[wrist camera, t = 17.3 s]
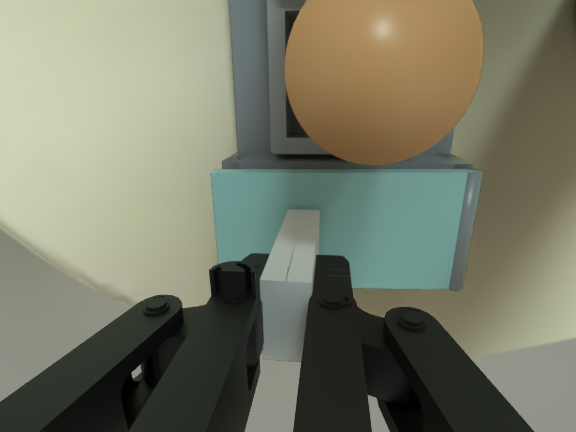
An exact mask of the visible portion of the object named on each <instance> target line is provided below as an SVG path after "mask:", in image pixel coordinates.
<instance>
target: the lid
mask: <svg viewBox="0 0 576 432" xmlns="http://www.w3.org/2000/svg"><path fill="white" fill-rule="evenodd" d="M482 176H483V171H481V170H477V169H215V170H214V171H212V172H211V183H212V195H213V207H214V219H215V230H216V242H217V254H218V264H220V263H223V262H228V261H242V260H243V259H244V258H245V257H247V256H248V255H250V254H251V253H264V254H270V253H271V250H272V248H273V245H274V243H275V240H276V238H277V235H278V233H279V230H280V228H281V225H282V223H283V221H284V218H285V216H286V213H287V211H288V209H304V210H320V222H319V255H340V256H344V257H345V258H346V259H347V260H348V261H349V264H350V273H351V283H352V288H381V289H449V290H454V291H458V290H461V289H462V288H463V283H464V277H465V272H466V266H467V260H468V255H469V249H470V244H471V238H472V232H473V227H474V221H475V215H476V210H477V204H478V199H479V193H480V187H481V182H482Z"/></svg>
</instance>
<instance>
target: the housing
mask: <svg viewBox="0 0 576 432" xmlns="http://www.w3.org/2000/svg"><path fill="white" fill-rule="evenodd" d="M306 1H307V0H229V4H230V22H231V39H232V57H233V74H234V91H235V109H236V126H237V144H238V152H237V153H236V154H234V155H232V156H231V157H229V158H227V159H225V160H224V161H222V169H472V165H473V164H471V163H469V162H467V161H465V160H463V159H460V158H458V157H456V156H454V155H452V154H450V150H451V143H452V136H453V129H454V128H453V129H452V130H451V131H450V132H449V133H448V134H447V135H446V136H445V137H444V138H442V139H441V140H440V141H439V142H438V143H437V144H435V145H434V146H432V147H431V148H429V149H428V150H426V151H424V152H422V153H421V154H419V155H417V156H415V157H412V158H409V159H407V160H404V161H400V162H396V163H393V164H385V165H364V164H357V163H353V162H349V161H346V160H343V159H341V158H338V157H336V156H334V155H332V154H331V153H329V152H327V151H325V150H324V149H323V148H322V147H320V146H319V145H318V144H316V143H315V142H314V141H313V140H312V139H311V138H310V137H309V136H308V134H307V133H306V132H305V130H304V129H303V128H302V126H301V125H300V123H299V121H298V120H297V118H296V116H295V114H294V112H293V109H292V107H291V104H290V101H289V98H288V94H287V89H286V82H285V56H286V49H287V44H288V40H289V36H290V33H291V30H292V27H293V25H294V22H295V20H296V18H297V16H298V14H299V12H300V10H301V8H302V7H303V5H304V4H305V2H306Z"/></svg>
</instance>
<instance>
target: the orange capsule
mask: <svg viewBox="0 0 576 432" xmlns="http://www.w3.org/2000/svg"><path fill="white" fill-rule="evenodd" d="M483 57H484V40H483V30H482V26H481V22H480V17H479V15H478V12H477V9H476V7H475V4H474V2H473V1H472V0H307V1H306V2H305V4H304V5H303V7H302V8H301V10H300V12H299V14H298V16H297V18H296V20H295V22H294V25H293V27H292V30H291V33H290V36H289V40H288V44H287V49H286V56H285V82H286V89H287V94H288V98H289V101H290V104H291V107H292V109H293V112H294V114H295V116H296V118H297V120H298V121H299V123H300V125H301V126H302V128H303V129H304V130H305V132H306V133H307V134H308V136H309V137H310V138H311V139H312V140H313V141H314V142H315V143H316V144H318V145H319V146H320V147H322V148H323V149H324V150H325V151H327V152H329V153H331V154H332V155H334V156H336V157H338V158H341V159H343V160H346V161H349V162H353V163H357V164H364V165H385V164H393V163H396V162H400V161H404V160H407V159H409V158H412V157H415V156H417V155H419V154H421V153H422V152H424V151H426V150H428V149H429V148H431V147H432V146H434V145H435V144H437V143H438V142H439V141H440V140H441V139H442V138H444V137H445V136H446V135H447V134H448V133H449V132H450V131H451V130H452V129H453V128H454V126H455V125H456V124H457V123H458V122H459V120H460V119H461V117H462V116H463V115H464V113H465V112H466V110H467V108H468V106H469V104H470V103H471V101H472V99H473V96H474V94H475V92H476V89H477V86H478V83H479V79H480V76H481V72H482V65H483Z"/></svg>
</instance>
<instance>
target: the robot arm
mask: <svg viewBox="0 0 576 432" xmlns="http://www.w3.org/2000/svg"><path fill="white" fill-rule="evenodd" d="M319 222H320V210H304V209H288V211H287V213H286V216H285V218H284V221H283V223H282V225H281V228H280V230H279V233H278V235H277V238H276V240H275V243H274V245H273V248H272V250H271V253H270V254H264V253H251V254H250V255H248V256H247V257H245V258H244V259H243V260H242V261H228V262H223V263H220V264H218V265H215V266H213V267H212V268H211V269H210V270H209V274H210V285H211V295H212V296H211V298H210V299H209V301H208V302H207V304H206V305H203V306H198V307H190V308H182V302H181V300H180V299H179V298H178V297H175V296H173V295H156V296H153V297H150V298H147V299H145V300H143V301H141V302H139V303H138V304H136V305H135V306H133V307H132V308H131V309H129V310H128V311H127V312H125V313H124V314H122V315H121V316H120V317H118V318H117V319H115V320H114V321H113V322H111V323H110V324H108V325H107V326H106V327H104V328H103V329H101V330H100V331H99V332H97V333H96V334H95V335H93V336H92V337H90V338H89V339H87V340H86V341H85V342H83V343H82V344H80V345H79V346H78V347H76V348H75V349H73V350H72V351H71V352H70V353H68V354H66V355H65V356H64V357H62V358H61V359H60V360H58V361H57V362H55V363H54V364H52V365H51V366H50V367H48V368H47V369H46V370H44V371H43V372H42V373H40V374H39V375H37V376H36V377H34V378H33V379H32V380H30V381H29V382H27V383H26V384H25V385H23V386H22V387H20V388H19V389H18V390H16V391H15V392H13V393H12V394H11V395H9V396H8V397H6V398H5V399H4V400H2V401H1V402H0V432H244V431H245V427H246V424H247V420H248V416H249V412H250V409H251V405H252V401H253V397H254V393H255V389H256V386H257V382H258V378H259V374H260V354H261V351H262V347H263V359H265V360H278V361H291V362H301V369H300V378H299V387H298V395H297V404H296V412H295V421H294V429H293V432H372V430H371V420H370V413H369V404H368V395H370V396H373V397H376V398H377V401H378V405H379V408H380V410H381V412H382V415H383V417H384V419H385V422H386V424H387V426H388V428H389V431H390V432H534V431H533V430H532V429H531V427H530V426H529V425H528V424H527V423H526V422H525V420H524V419H523V418H522V417H521V416H520V415H519V414H518V413H517V411H516V410H515V409H514V408H513V407H512V406H511V404H510V403H509V402H508V401H507V400H506V399H505V398H504V397H503V395H502V394H501V393H500V392H499V391H498V390H497V389H496V387H495V386H494V385H493V384H492V383H491V382H490V380H489V379H487V377H486V376H485V375H484V374H483V372H482V371H481V370H480V369H479V368H478V367H477V366H476V364H475V363H474V362H473V361H472V360H471V359H470V358H469V356H468V355H467V354H466V353H465V352H464V351H463V350H462V348H461V347H460V346H459V345H458V344H457V343H456V342H455V340H454V339H453V338H452V337H451V336H450V335H449V334H448V332H447V331H446V330H445V329H444V328H443V327H442V326H441V324H440V323H439V322H438V321H437V320H436V319H435V318H434V317H433V316H431V315H430V314H428V313H426V312H424V311H422V310H420V309H416V308H412V307H398V308H393V309H391V310H389V311H388V312H386V315H385V317H384V318H382V317H378V316H374V315H371V314H369V313H367V312H365V311H363V310H361V309H360V308H359V307H357V304H356V301H355V299H354V298H353V292H352V283H351V273H350V264H349V261H348V260H347V259H346V258H345V257H344V256H340V255H319ZM139 365H141V370H142V372H141V373H140V374H139V375H138V376H137V377H135V378H134V379H133V378H132V374H131V372H132V371H134V370H135V369H136V368H137V367H138V366H139ZM367 394H368V395H367Z"/></svg>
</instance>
